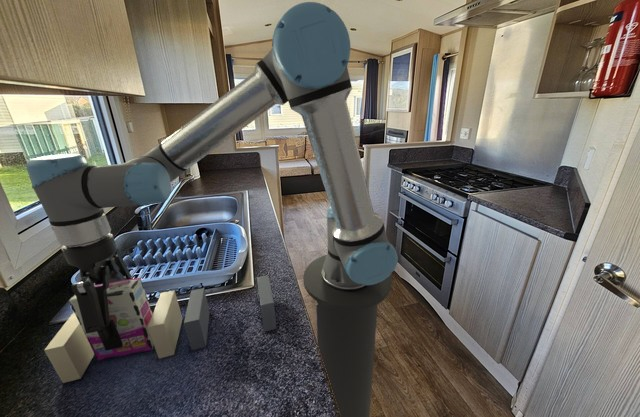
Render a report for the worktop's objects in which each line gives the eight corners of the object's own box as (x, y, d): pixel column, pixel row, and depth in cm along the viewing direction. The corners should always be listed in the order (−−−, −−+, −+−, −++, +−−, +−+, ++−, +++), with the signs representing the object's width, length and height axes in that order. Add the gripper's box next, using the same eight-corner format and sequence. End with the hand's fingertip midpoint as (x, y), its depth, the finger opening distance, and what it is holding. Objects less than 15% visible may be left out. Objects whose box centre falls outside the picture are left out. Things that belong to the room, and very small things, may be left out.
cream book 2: (182, 318, 67) (174, 290, 63) (174, 354, 57) (163, 323, 54) (169, 321, 66) (160, 292, 63) (158, 358, 56) (147, 327, 53)
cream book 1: (104, 335, 62) (91, 306, 59) (80, 378, 52) (63, 345, 49) (89, 339, 61) (75, 309, 58) (62, 383, 52) (43, 350, 48)
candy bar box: (160, 333, 63) (141, 276, 57) (153, 350, 58) (131, 291, 52) (108, 342, 61) (82, 284, 54) (95, 361, 56) (66, 300, 50)
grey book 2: (270, 299, 73) (268, 275, 70) (276, 328, 63) (273, 302, 60) (260, 301, 72) (256, 277, 69) (264, 332, 62) (260, 305, 59)
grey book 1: (209, 312, 69) (204, 287, 66) (205, 346, 59) (198, 319, 56) (197, 315, 68) (191, 290, 65) (191, 350, 58) (183, 323, 55)
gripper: (91, 219, 58) (122, 300, 66) (19, 275, 38) (76, 380, 47) (130, 214, 60) (155, 294, 68) (81, 266, 40) (124, 368, 49)
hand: (123, 329), depth 57 cm, fingers open, 9 cm apart
